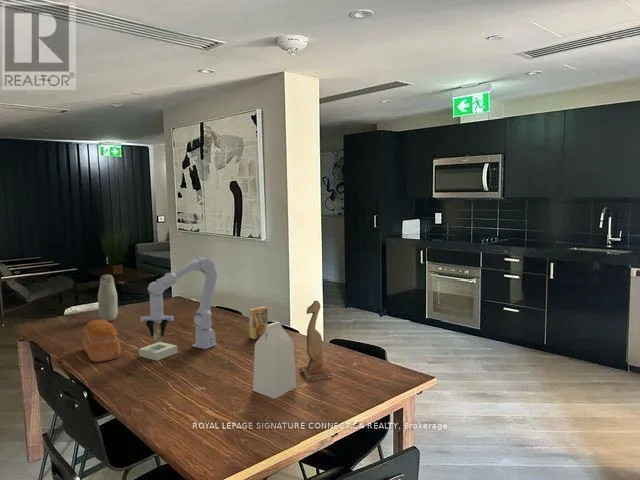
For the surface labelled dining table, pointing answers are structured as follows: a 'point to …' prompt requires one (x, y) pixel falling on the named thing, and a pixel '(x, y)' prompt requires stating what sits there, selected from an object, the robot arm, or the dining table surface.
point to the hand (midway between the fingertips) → (157, 336)
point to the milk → (274, 362)
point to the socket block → (158, 351)
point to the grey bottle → (107, 298)
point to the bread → (101, 341)
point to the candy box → (257, 322)
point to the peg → (157, 331)
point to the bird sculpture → (314, 348)
